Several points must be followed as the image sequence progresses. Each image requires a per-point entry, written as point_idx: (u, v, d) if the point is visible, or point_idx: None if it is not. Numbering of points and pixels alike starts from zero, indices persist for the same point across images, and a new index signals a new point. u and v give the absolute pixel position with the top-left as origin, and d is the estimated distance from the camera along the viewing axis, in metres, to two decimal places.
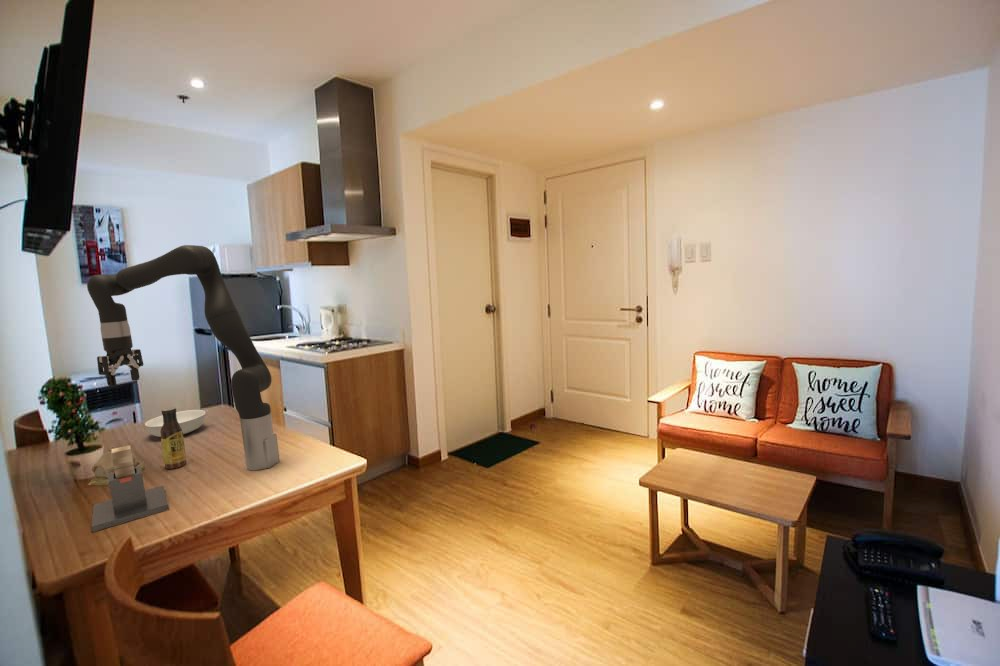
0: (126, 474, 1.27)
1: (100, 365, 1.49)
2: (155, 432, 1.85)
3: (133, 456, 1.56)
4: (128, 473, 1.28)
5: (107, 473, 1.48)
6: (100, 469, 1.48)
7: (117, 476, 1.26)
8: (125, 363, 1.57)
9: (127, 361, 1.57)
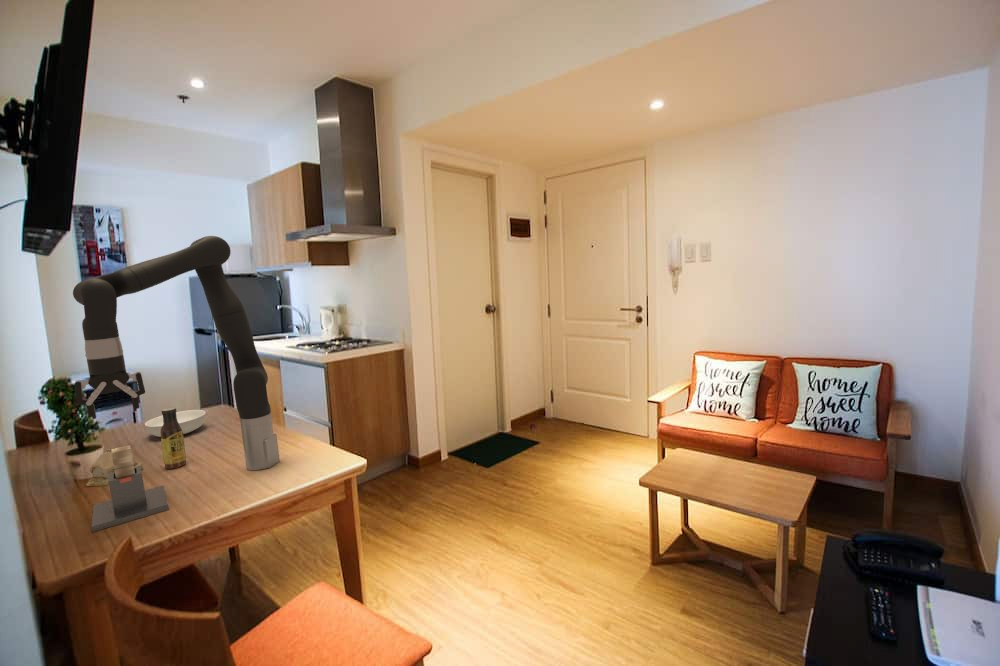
0: (126, 474, 1.27)
1: None
2: (155, 432, 1.85)
3: None
4: (128, 473, 1.28)
5: (106, 473, 1.48)
6: (98, 469, 1.48)
7: (117, 476, 1.26)
8: None
9: None
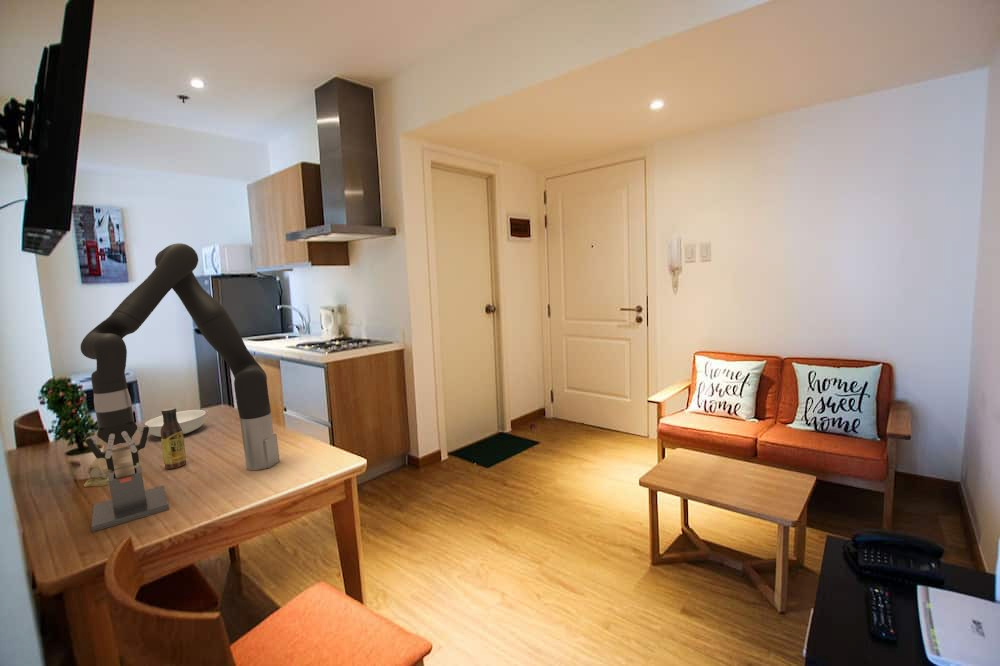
0: (126, 474, 1.27)
1: (146, 436, 1.31)
2: (155, 432, 1.85)
3: None
4: (128, 473, 1.28)
5: (103, 474, 1.48)
6: (96, 470, 1.48)
7: (117, 476, 1.26)
8: None
9: None
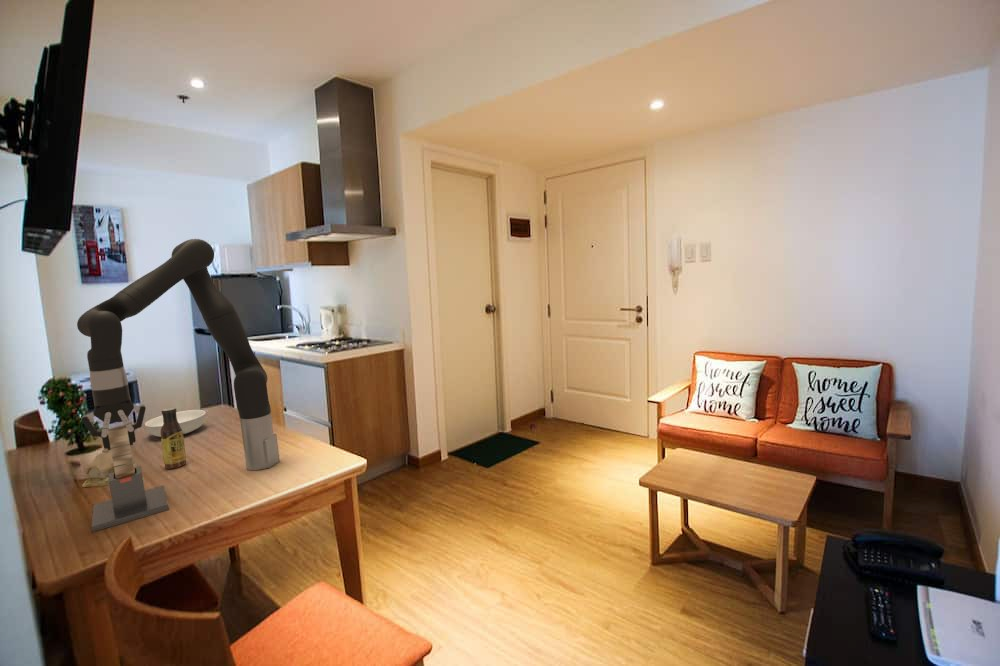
0: (122, 453, 1.27)
1: (143, 416, 1.30)
2: (155, 432, 1.85)
3: None
4: (124, 452, 1.27)
5: (102, 474, 1.48)
6: (94, 470, 1.48)
7: (113, 455, 1.25)
8: None
9: None
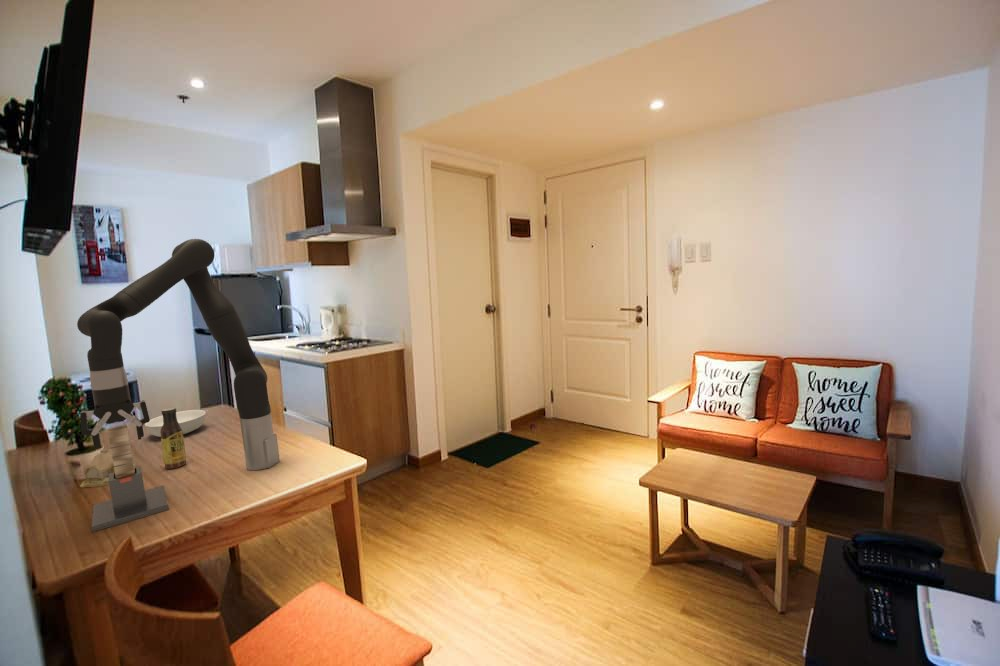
0: (122, 453, 1.27)
1: None
2: (155, 432, 1.85)
3: None
4: (124, 452, 1.27)
5: (101, 474, 1.48)
6: (93, 470, 1.48)
7: (113, 455, 1.25)
8: None
9: None
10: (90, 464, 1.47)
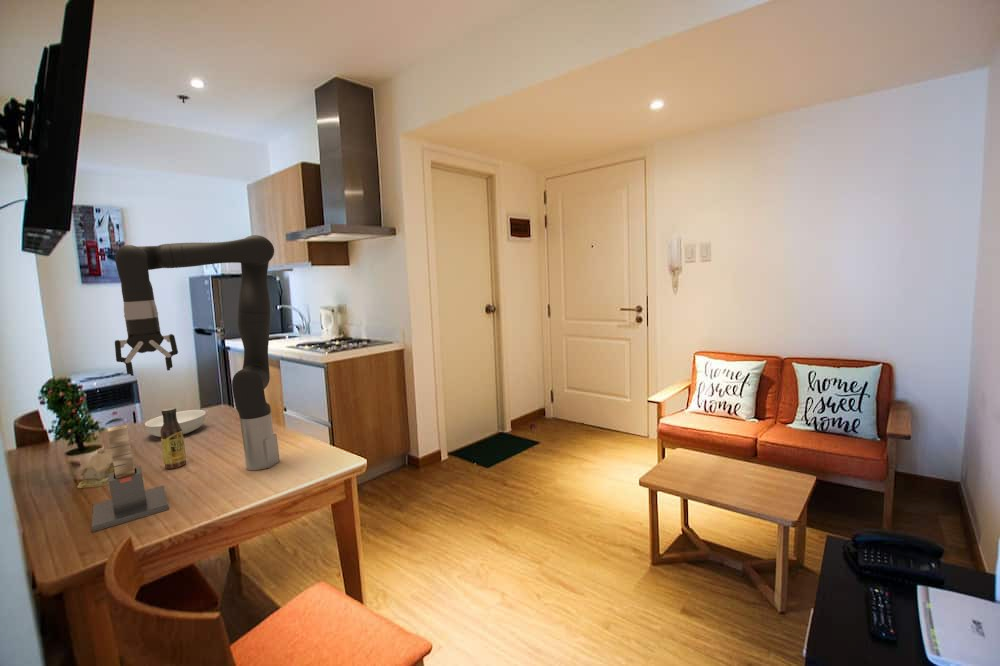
0: (122, 453, 1.27)
1: (175, 343, 1.39)
2: (155, 432, 1.85)
3: None
4: (124, 452, 1.27)
5: (99, 474, 1.47)
6: (90, 471, 1.47)
7: (113, 455, 1.25)
8: None
9: None
10: (87, 465, 1.47)
